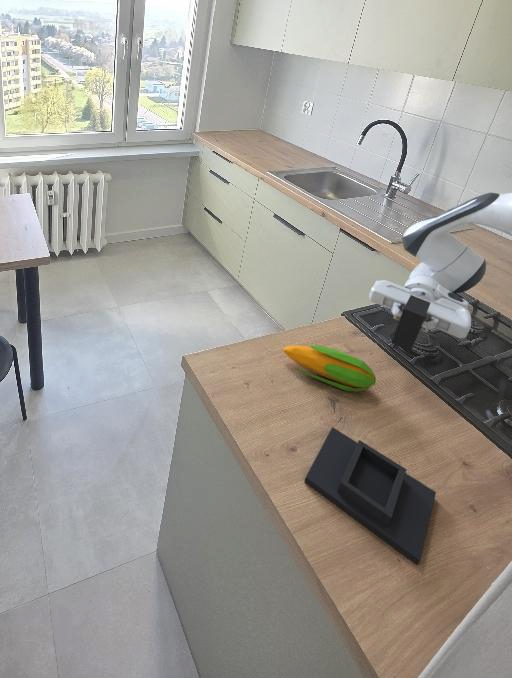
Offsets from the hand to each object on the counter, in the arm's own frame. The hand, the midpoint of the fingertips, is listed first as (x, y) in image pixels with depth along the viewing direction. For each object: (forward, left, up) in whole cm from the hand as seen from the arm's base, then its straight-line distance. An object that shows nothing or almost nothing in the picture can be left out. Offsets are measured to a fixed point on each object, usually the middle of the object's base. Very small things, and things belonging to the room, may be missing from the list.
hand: (410, 323), depth 95 cm
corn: (+7, +16, -15) cm, 23 cm away
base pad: (-13, +32, -15) cm, 37 cm away
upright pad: (0, -1, -5) cm, 6 cm away
